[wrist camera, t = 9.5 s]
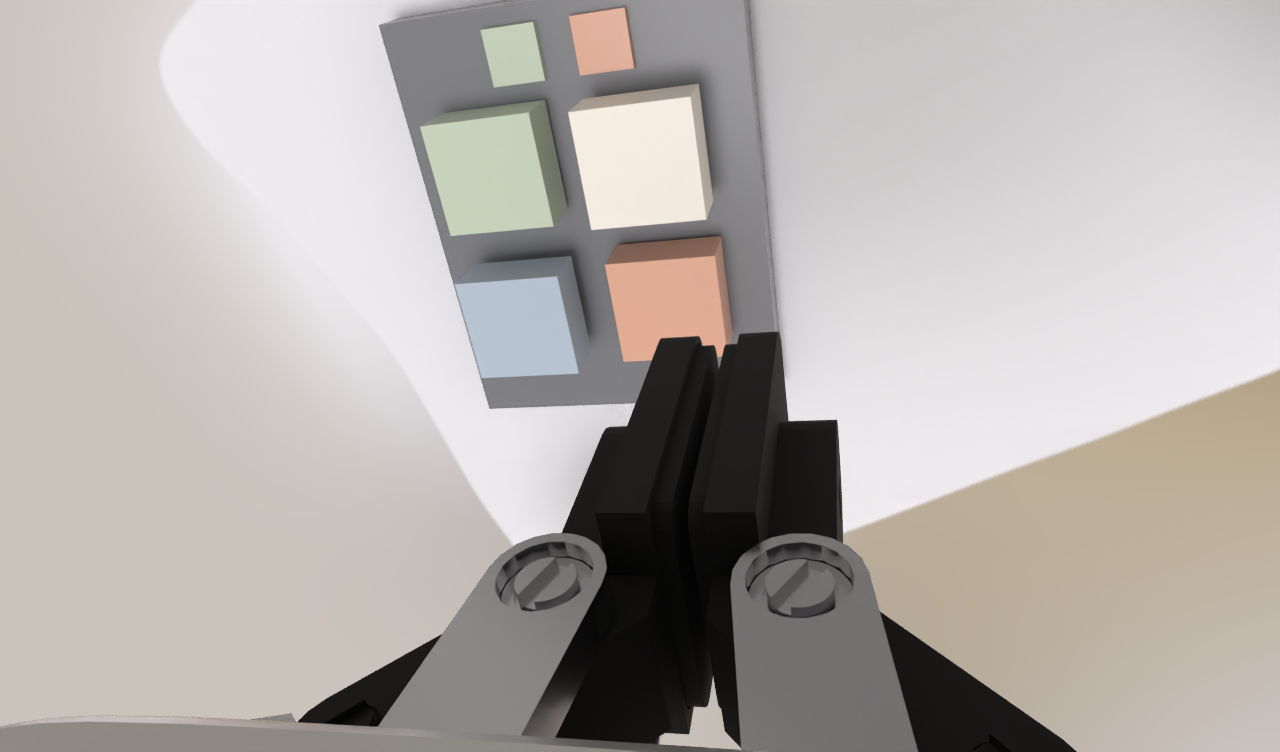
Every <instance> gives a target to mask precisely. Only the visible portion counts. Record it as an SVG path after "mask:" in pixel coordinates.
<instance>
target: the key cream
mask: <svg viewBox="0 0 1280 752" xmlns="http://www.w3.org/2000/svg"><path fill="white" fill-rule="evenodd" d="M568 115H569V120H570V125H571V130H572V135H573V140H574V145H575V150H576V155H577V160H578V165H579V170H580V175H581V180H582V185H583V190H584V195H585V200H586V205H587V211H588V216H589V221H590V226H591V230H599V229H610V228H621V227H632V226H643V225H654V224H665V223H676V222H687V221H698V220H706V219H707V217H708V214H709V211H710V209H711V206H712V203H713V194H712V186H711V178H710V170H709V162H708V154H707V146H706V138H705V130H704V122H703V114H702V106H701V98H700V90H699V84H692V85H684V86H677V87H669V88H662V89H654V90H646V91H639V92H631V93H623V94H616V95H608V96H600V97H593V98H585V99H582V100H581V101H580V102H579V103H578V104H577V105H575V106H574V107H573V108H572V109H571V110H570V111H569V112H568Z"/></svg>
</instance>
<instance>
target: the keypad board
mask: <svg viewBox="0 0 1280 752" xmlns="http://www.w3.org/2000/svg"><path fill="white" fill-rule="evenodd" d="M379 27H380V31H381V34H382V38H383V41H384V45H385V48H386V52H387V55H388V59H389V62H390V66H391V69H392V72H393V76H394V79H395V83H396V86H397V90H398V93H399V97H400V100H401V104H402V107H403V111H404V114H405V117H406V121H407V124H408V128H409V131H410V135H411V138H412V142H413V145H414V149H415V152H416V156H417V159H418V162H419V166H420V169H421V173H422V176H423V180H424V183H425V187H426V190H427V194H428V197H429V201H430V204H431V207H432V211H433V214H434V218H435V221H436V225H437V228H438V232H439V235H440V239H441V242H442V246H443V249H444V253H445V256H446V259H447V263H448V266H449V270H450V273H451V277H452V280H453V284H454V287H455V283H456V282H457V281H458V280H459V279H460V278H461V277H462V276H463V275H464V274H465V272H466V271H467V270H468V269H469V268H470V267H471V266H472V265H473V264H481V263H493V262H505V261H517V260H529V259H541V258H553V257H565V256H571V258H572V263H573V267H574V272H575V277H576V282H577V286H578V291H579V296H580V300H581V305H582V310H583V314H584V319H585V324H586V328H587V333H588V338H589V342H590V347H591V351H590V353H589V355H588V357H587V359H586V360H585V362H584V364H583V366H582V368H581V370H580V372H579V374H559V375H538V376H517V377H496V378H481V381H482V384H483V388H484V391H485V395H486V398H487V401H488V405H489V408H490V409H493V408H520V407H546V406H573V405H599V404H625V403H636V401H637V399H638V396H639V393H640V391H641V388H642V385H643V383H644V380H645V377H646V375H647V372H648V369H649V367H650V364H651V361H652V360H649V361H629V362H624V361H623V356H622V351H621V345H620V340H619V335H618V330H617V325H616V320H615V315H614V309H613V304H612V299H611V294H610V289H609V284H608V279H607V273H606V268H605V264H606V262H607V260H608V258H609V257H610V255H611V253H612V252H613V250H614V248H615V246H616V245H622V244H634V243H645V242H657V241H669V240H680V239H692V238H704V237H716V236H721V240H722V248H723V257H724V265H725V273H726V281H727V289H728V297H729V306H730V314H731V322H732V330H733V334H732V339H731V344H737V342H738V337H739V334H743V333H760V332H778V331H779V326H778V316H777V305H776V294H775V283H774V273H773V262H772V251H771V241H770V230H769V219H768V208H767V198H766V187H765V176H764V165H763V155H762V144H761V133H760V123H759V112H758V101H757V90H756V80H755V69H754V58H753V48H752V37H751V26H750V15H749V5H748V0H509V1H503V2H497V3H491V4H484V5H478V6H472V7H466V8H460V9H454V10H448V11H442V12H436V13H430V14H424V15H418V16H411V17H405V18H399V19H396V20H393V21H390V22H387V23H384V24H381V25H379ZM692 84H699V90H700V98H701V106H702V114H703V122H704V130H705V138H706V146H707V154H708V162H709V170H710V178H711V186H712V194H713V203H712V206H711V209H710V211H709V214H708V217H707V219H706V220H698V221H687V222H676V223H665V224H654V225H643V226H632V227H621V228H610V229H599V230H591V226H590V221H589V216H588V211H587V205H586V200H585V195H584V190H583V185H582V180H581V175H580V170H579V165H578V160H577V155H576V150H575V145H574V140H573V135H572V130H571V125H570V120H569V115H568V112H569V111H570V110H571V109H572V108H573V107H574V106H575V105H577V104H578V103H579V102H580V101H581V100H582V99H585V98H593V97H600V96H608V95H616V94H623V93H631V92H639V91H646V90H654V89H662V88H669V87H677V86H684V85H692ZM538 100H545V102H546V107H547V112H548V116H549V121H550V126H551V131H552V136H553V140H554V145H555V150H556V155H557V159H558V164H559V169H560V174H561V178H562V183H563V188H564V193H565V198H566V202H567V207H568V209H567V210H566V211H565V213H564V214H563V215H562V216H561V218H560V219H559V220H558V222H557V223H556V224H555V225H554V227H543V228H532V229H521V230H511V231H500V232H489V233H478V234H467V235H457V236H451V235H450V232H449V228H448V224H447V221H446V217H445V214H444V210H443V207H442V203H441V200H440V196H439V193H438V189H437V185H436V182H435V178H434V175H433V171H432V168H431V164H430V161H429V157H428V154H427V150H426V146H425V143H424V139H423V136H422V132H421V129H420V126H422V125H423V124H425V123H427V122H428V121H430V120H431V119H433V118H435V117H436V116H438V115H440V114H441V113H448V112H455V111H463V110H470V109H478V108H485V107H493V106H501V105H508V104H516V103H523V102H531V101H538ZM455 291H456V288H455ZM456 294H457V291H456ZM457 298H458V295H457ZM458 301H459V298H458ZM459 304H460V302H459ZM460 308H461V305H460ZM461 311H462V309H461ZM462 315H463V312H462ZM463 318H464V315H463ZM464 322H465V319H464ZM465 325H466V322H465ZM466 329H467V326H466ZM467 332H468V329H467ZM468 336H469V333H468ZM469 339H470V336H469ZM470 343H471V340H470ZM471 346H472V343H471ZM472 349H473V347H472ZM473 353H474V350H473ZM474 356H475V354H474ZM717 359H718V366H719V367H720V363H721V359H722V357H717ZM475 360H476V357H475ZM476 363H477V361H476ZM477 367H478V364H477ZM478 370H479V367H478ZM479 374H480V371H479ZM480 377H481V374H480Z"/></svg>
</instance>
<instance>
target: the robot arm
mask: <svg viewBox="0 0 1280 752" xmlns="http://www.w3.org/2000/svg"><path fill="white" fill-rule="evenodd" d="M713 677H714V683H715V688H716V695H717V700H718V705H719V707H720V708H721V710H722V716H723V722H724V728H725V732H726V733H727V734H728V735H729V736H730V737H731V738H732V739H733V740H734V741H735V742H736V743H737V744H738V745H739V746H740V747H741V750H734V749H719V748H705V747H690V746H674V745H659V744H649V743H651V742H652V741H654V740H655V739H657V738H658V737H659V736H661V735H662V734H664V733H675V734H689V732H690V726H691V720H692V714H693V707H694V706H695V707H707V706H708V703H709V698H710V692H711V685H712V679H713ZM0 752H1076V751H1075V750H1074V749H1073V748H1072V747H1071V746H1070V745H1068V744H1067V743H1066V742H1065V741H1064V740H1063V739H1061V738H1060V737H1059V736H1057V735H1055V734H1054V733H1053V732H1051V731H1050V730H1049V729H1047V728H1046V727H1044V726H1043V725H1041V724H1040V723H1039V722H1037V721H1035V720H1034V719H1033V718H1031V717H1030V716H1029V715H1027V714H1026V713H1024V712H1023V711H1021V710H1020V709H1019V708H1017V707H1016V706H1014V705H1013V704H1011V703H1010V702H1008V701H1007V700H1006V699H1004V698H1003V697H1001V696H1000V695H998V694H997V693H996V692H994V691H993V690H991V689H990V688H988V687H987V686H986V685H984V684H983V683H981V682H980V681H978V680H977V679H976V678H974V677H973V676H971V675H970V674H968V673H967V672H966V671H964V670H963V669H961V668H960V667H958V666H957V665H955V664H954V663H953V662H951V661H950V660H948V659H947V658H945V657H944V656H943V655H941V654H940V653H938V652H937V651H935V650H934V649H933V648H931V647H930V646H928V645H927V644H925V643H924V642H923V641H921V640H920V639H918V638H917V637H916V636H914V635H913V634H911V633H910V632H908V631H907V630H905V629H904V628H903V627H901V626H900V625H898V624H897V623H895V622H894V621H893V620H891V619H890V618H888V617H887V616H885V615H884V614H883V613H881V612H880V610H879V607H878V603H877V599H876V596H875V592H874V589H873V585H872V581H871V577H870V574H869V571H868V569H867V567H866V565H865V564H864V561H863V559H862V558H861V557H860V556H859V555H858V554H857V553H856V552H855V551H853V550H852V549H851V548H850V547H849V546H847V545H845V544H843V519H842V491H841V471H840V454H839V438H838V424H837V420H817V421H788V412H787V401H786V391H785V380H784V369H783V358H782V347H781V339H780V334H779V331H778V332H760V333H743V334H739V337H738V342H737V344H725V346H724V350H723V354H722V359H721V363H720V367H719V366H718V359H717V353H716V348H715V346H714V345H706V346H703V345H702V341H701V338H700V337H699V336H690V337H672V338H661V339H660V340H659V342H658V345H657V348H656V350H655V353H654V356H653V358H652V361H651V364H650V367H649V369H648V372H647V375H646V377H645V380H644V383H643V385H642V388H641V391H640V393H639V396H638V399H637V401H636V404H635V407H634V409H633V412H632V415H631V418H630V420H629V423H628V426H623V427H608V428H606V429H605V431H604V433H603V434H602V437H601V439H600V441H599V444H598V446H597V449H596V451H595V454H594V456H593V458H592V461H591V463H590V466H589V468H588V471H587V473H586V475H585V478H584V480H583V483H582V485H581V488H580V490H579V492H578V495H577V497H576V500H575V502H574V505H573V507H572V509H571V512H570V514H569V517H568V519H567V522H566V524H565V526H564V529H563V531H562V533H551V534H547V535H542V536H537V537H533V538H531V539H528V540H526V541H523V542H521V543H519V544H516V545H515V546H513V547H512V548H510V549H509V550H507V551H506V552H504V553H503V554H501V555H500V556H499V557H498V558H497V559H496V560H495V562H494V563H493V564H492V565H491V566H490V567H489V568H488V570H487V571H486V573H485V574H484V575H483V577H482V578H481V580H480V581H479V583H478V584H477V586H476V587H475V588H474V590H473V591H472V593H471V594H470V595H469V597H468V598H467V600H466V601H465V603H464V604H463V606H462V607H461V608H460V610H459V611H458V613H457V614H456V616H455V617H454V618H453V620H452V621H451V623H450V624H449V626H448V627H447V628H446V630H445V631H444V633H443V634H441V635H439V636H438V637H436V638H434V639H432V640H431V641H429V642H427V643H425V644H423V645H422V646H420V647H418V648H416V649H415V650H413V651H411V652H409V653H407V654H405V655H404V656H402V657H400V658H398V659H397V660H395V661H393V662H391V663H389V664H388V665H386V666H384V667H382V668H380V669H379V670H377V671H375V672H373V673H371V674H370V675H368V676H366V677H364V678H362V679H361V680H359V681H357V682H355V683H354V684H352V685H350V686H348V687H347V688H345V689H343V690H341V691H339V692H337V693H336V694H334V695H332V696H330V697H329V698H327V699H325V700H324V701H323V702H321V703H320V704H318V705H317V706H315V707H314V708H312V709H311V710H309V711H308V712H307V713H306V714H305V715H304V716H303V717H302V718H301V719H300V720H299V721H298V722H296V721H295V719H294V718H293V716H292V714H285V715H278V716H271V717H265V718H258V719H252V720H243V719H220V718H200V717H169V716H168V717H167V716H99V715H98V716H79V717H63V718H49V719H41V720H35V721H30V722H24V723H17V724H11V725H5V726H0Z"/></svg>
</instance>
